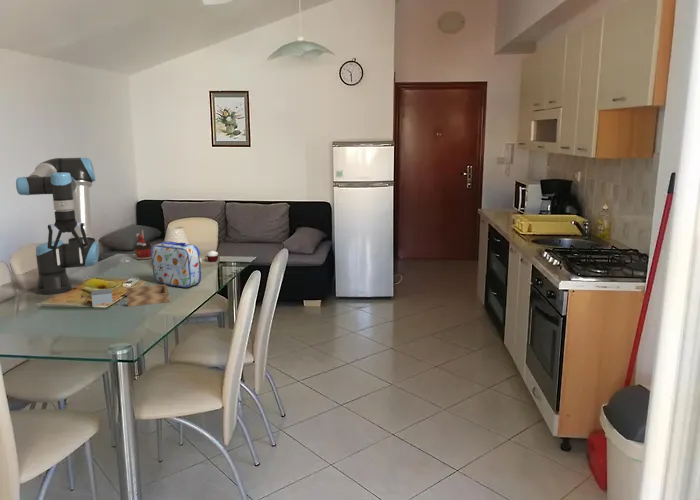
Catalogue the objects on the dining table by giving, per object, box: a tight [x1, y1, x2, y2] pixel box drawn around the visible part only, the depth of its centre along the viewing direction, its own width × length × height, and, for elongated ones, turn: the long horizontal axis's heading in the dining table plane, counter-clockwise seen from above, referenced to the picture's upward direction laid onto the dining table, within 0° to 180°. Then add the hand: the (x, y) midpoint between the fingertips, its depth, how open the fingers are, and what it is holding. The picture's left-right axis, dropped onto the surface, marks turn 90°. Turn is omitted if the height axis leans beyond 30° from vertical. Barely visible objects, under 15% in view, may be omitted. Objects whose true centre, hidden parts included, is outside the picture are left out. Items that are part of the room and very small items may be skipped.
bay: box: [125, 284, 170, 307], centre depth 252 cm, size 17×16×4 cm
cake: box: [134, 228, 152, 260], centre depth 335 cm, size 11×9×18 cm
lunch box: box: [150, 241, 203, 288], centre depth 275 cm, size 28×10×22 cm, turn 62°
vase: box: [163, 226, 191, 245], centre depth 307 cm, size 18×17×23 cm
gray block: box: [90, 288, 114, 306], centre depth 245 cm, size 8×6×6 cm
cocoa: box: [204, 239, 221, 263], centre depth 327 cm, size 10×6×12 cm, turn 93°
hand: (70, 263), depth 238 cm, fingers open, 8 cm apart
